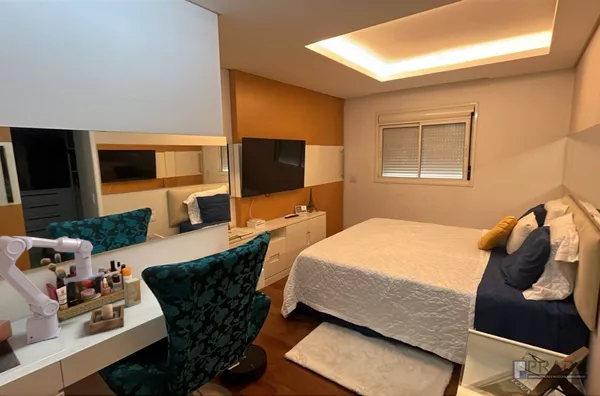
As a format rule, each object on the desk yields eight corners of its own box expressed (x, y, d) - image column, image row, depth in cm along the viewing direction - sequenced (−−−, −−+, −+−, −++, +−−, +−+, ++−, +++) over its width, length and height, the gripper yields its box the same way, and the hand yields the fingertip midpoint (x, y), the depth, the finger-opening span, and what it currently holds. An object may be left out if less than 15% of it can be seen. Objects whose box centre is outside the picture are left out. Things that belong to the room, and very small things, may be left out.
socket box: (89, 334, 124) (89, 325, 123) (93, 319, 136) (92, 310, 135) (123, 326, 130) (123, 317, 129) (124, 312, 142) (123, 304, 141)
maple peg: (102, 324, 130) (101, 309, 129) (102, 320, 134) (101, 305, 133) (113, 322, 132) (112, 306, 131) (113, 318, 136) (112, 303, 135)
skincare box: (128, 307, 147) (126, 283, 145) (124, 304, 149) (122, 281, 148) (142, 302, 152) (140, 279, 150) (137, 300, 155) (136, 277, 153)
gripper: (62, 272, 127) (65, 303, 129) (103, 265, 135) (105, 294, 137) (63, 267, 133) (66, 297, 135) (102, 261, 141) (105, 289, 143)
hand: (86, 295), depth 136 cm, fingers open, 7 cm apart
